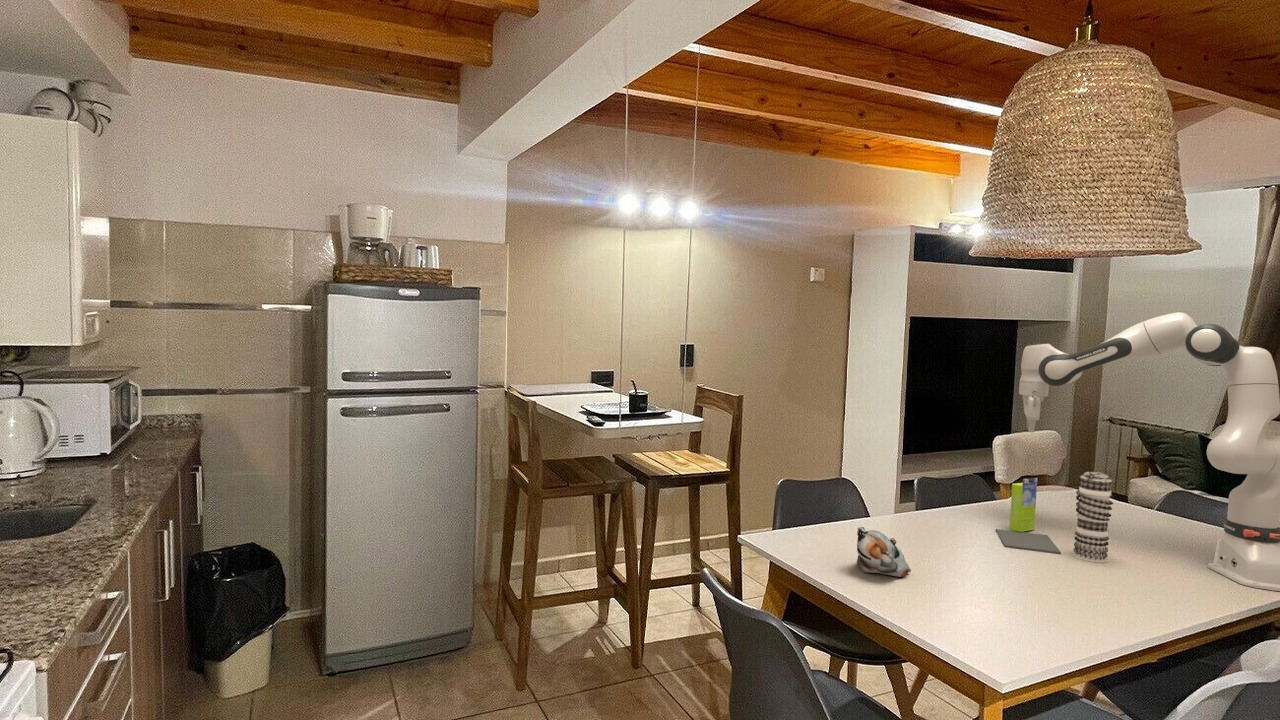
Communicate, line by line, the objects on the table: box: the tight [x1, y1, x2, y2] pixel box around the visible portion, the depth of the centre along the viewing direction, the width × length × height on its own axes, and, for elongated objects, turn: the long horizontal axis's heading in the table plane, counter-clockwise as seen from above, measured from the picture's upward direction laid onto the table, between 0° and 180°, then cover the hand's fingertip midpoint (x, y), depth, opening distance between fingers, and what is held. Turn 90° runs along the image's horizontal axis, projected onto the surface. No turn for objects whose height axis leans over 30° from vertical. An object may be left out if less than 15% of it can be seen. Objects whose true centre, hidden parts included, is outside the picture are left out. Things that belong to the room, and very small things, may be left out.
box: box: [1009, 477, 1038, 532], centre depth 236 cm, size 10×4×17 cm, turn 127°
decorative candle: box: [1072, 471, 1114, 563], centre depth 209 cm, size 9×9×25 cm
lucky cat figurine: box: [856, 526, 912, 579], centre depth 189 cm, size 15×12×14 cm
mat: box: [995, 528, 1062, 555], centre depth 224 cm, size 19×15×1 cm
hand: (1030, 430), depth 246 cm, fingers open, 8 cm apart
